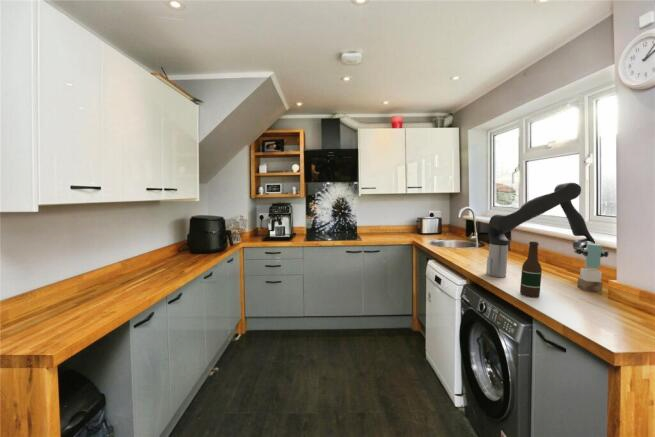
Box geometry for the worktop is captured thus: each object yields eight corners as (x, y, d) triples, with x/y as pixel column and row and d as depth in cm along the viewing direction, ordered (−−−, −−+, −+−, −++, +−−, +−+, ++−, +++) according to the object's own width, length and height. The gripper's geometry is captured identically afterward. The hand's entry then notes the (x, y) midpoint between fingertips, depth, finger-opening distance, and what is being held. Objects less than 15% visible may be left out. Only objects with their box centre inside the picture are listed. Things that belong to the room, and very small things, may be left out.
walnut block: (585, 291, 161) (586, 281, 161) (577, 287, 168) (578, 277, 168) (601, 293, 160) (602, 282, 160) (593, 288, 167) (594, 278, 166)
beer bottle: (543, 298, 148) (548, 243, 146) (525, 297, 149) (530, 243, 147) (533, 292, 156) (537, 240, 154) (516, 292, 156) (520, 240, 154)
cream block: (586, 281, 161) (587, 270, 161) (579, 278, 167) (580, 268, 167) (600, 282, 160) (601, 271, 160) (593, 279, 166) (594, 268, 166)
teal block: (586, 267, 162) (588, 244, 161) (584, 265, 166) (586, 243, 165) (599, 268, 160) (601, 245, 159) (597, 266, 164) (599, 244, 163)
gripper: (572, 240, 178) (576, 244, 163) (607, 243, 171) (614, 248, 156) (571, 254, 179) (574, 260, 164) (606, 258, 171) (613, 264, 157)
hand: (594, 254), depth 160 cm, fingers closed on teal block, 5 cm apart
